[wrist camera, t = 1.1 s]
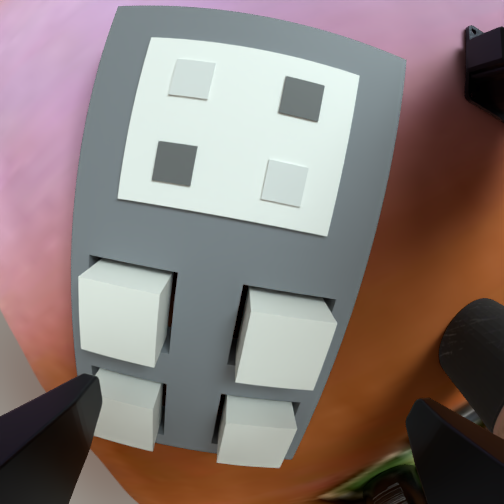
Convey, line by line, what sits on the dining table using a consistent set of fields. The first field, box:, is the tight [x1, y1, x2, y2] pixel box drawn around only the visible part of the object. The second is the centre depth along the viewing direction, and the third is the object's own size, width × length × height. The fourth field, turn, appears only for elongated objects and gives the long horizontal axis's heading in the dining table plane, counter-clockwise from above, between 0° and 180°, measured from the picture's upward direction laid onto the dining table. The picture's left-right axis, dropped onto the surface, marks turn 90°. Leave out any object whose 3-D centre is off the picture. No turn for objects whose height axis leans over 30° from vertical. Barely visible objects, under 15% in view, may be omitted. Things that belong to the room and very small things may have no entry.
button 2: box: [94, 368, 163, 451], centre depth 17 cm, size 4×4×3 cm
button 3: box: [235, 285, 337, 390], centre depth 16 cm, size 4×4×3 cm
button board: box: [71, 6, 406, 459], centre depth 17 cm, size 15×26×3 cm, turn 169°
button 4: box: [217, 395, 297, 468], centre depth 18 cm, size 4×4×3 cm
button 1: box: [78, 258, 174, 368], centre depth 15 cm, size 4×4×3 cm
